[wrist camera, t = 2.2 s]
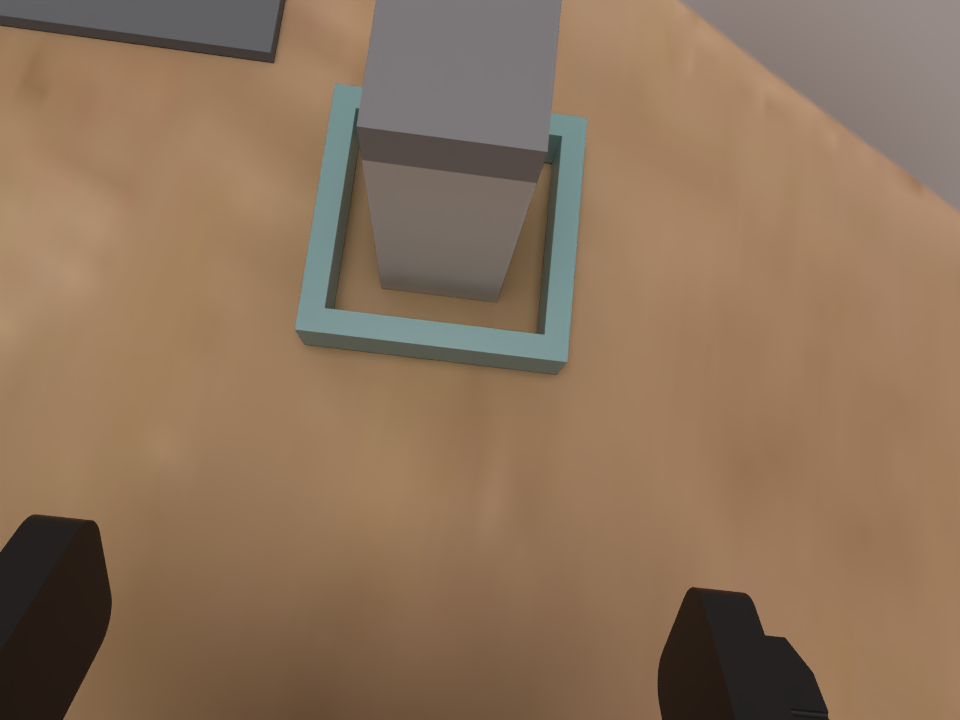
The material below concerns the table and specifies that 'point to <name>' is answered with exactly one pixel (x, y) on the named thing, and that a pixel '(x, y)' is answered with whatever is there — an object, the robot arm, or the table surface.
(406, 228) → the plug
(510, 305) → the table surface
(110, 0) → the plate
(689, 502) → the table surface
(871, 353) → the table surface
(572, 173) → the collar
